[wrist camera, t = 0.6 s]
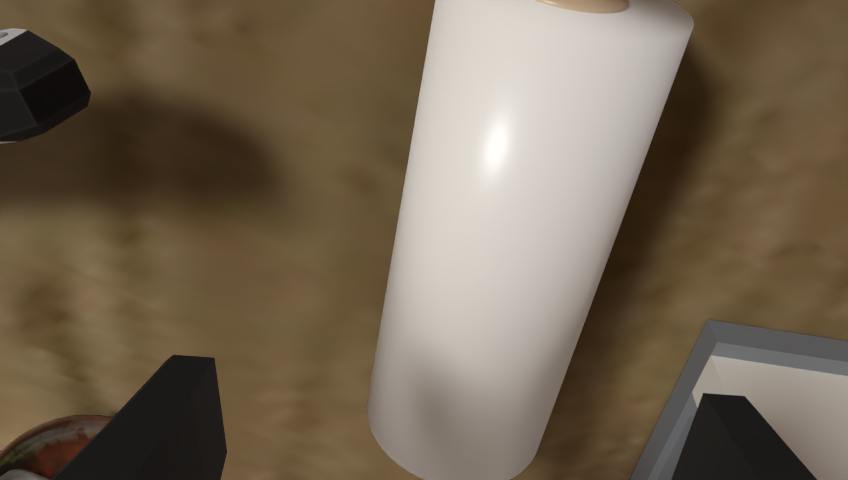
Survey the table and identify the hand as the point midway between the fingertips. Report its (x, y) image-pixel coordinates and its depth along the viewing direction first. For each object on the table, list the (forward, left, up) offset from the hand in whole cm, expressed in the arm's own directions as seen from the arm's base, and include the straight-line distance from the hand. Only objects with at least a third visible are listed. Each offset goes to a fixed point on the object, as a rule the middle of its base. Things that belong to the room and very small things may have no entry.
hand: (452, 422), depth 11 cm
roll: (-1, +1, -7) cm, 7 cm away
